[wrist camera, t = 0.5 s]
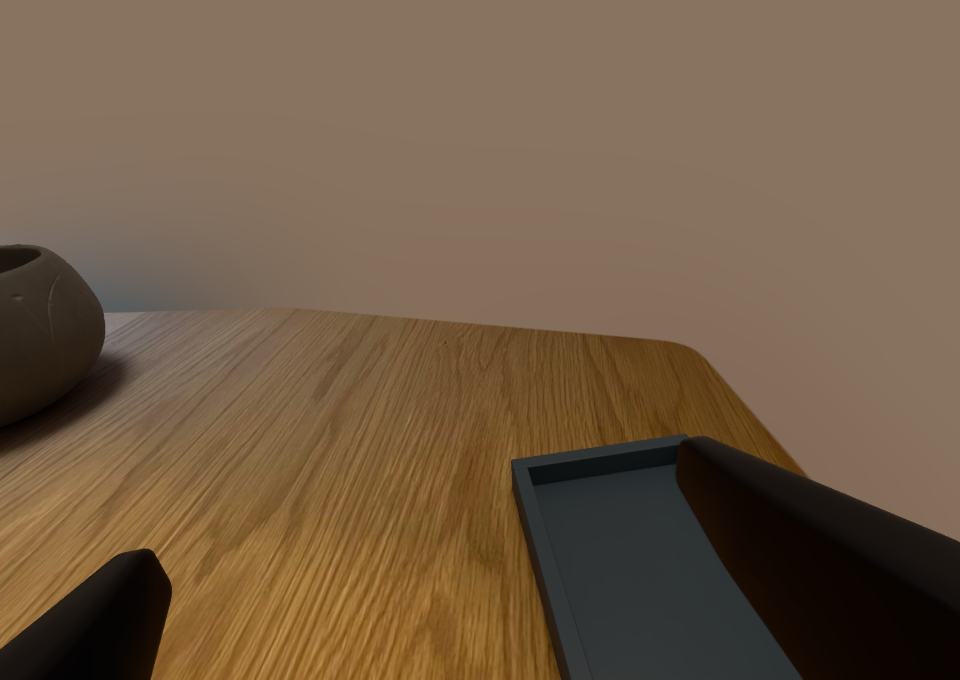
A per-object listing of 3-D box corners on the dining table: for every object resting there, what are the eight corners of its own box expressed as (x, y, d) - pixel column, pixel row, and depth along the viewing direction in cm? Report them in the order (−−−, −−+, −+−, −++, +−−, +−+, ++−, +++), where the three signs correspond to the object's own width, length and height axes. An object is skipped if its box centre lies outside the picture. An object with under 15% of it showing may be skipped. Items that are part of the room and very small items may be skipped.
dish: (884, 736, 16) (910, 704, 14) (591, 799, 15) (595, 770, 14) (680, 462, 27) (685, 433, 26) (512, 488, 27) (510, 459, 25)
